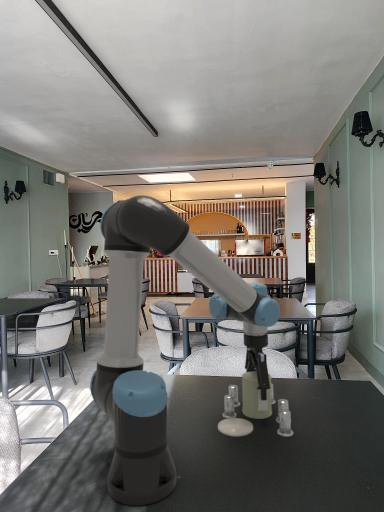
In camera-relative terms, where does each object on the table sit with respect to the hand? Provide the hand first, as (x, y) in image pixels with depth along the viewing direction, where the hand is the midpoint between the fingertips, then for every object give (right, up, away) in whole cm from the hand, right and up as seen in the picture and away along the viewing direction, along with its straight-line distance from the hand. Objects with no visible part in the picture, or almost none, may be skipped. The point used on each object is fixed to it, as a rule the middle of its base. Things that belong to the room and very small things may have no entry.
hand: (256, 401), depth 118 cm
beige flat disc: (-8, -4, -10) cm, 13 cm away
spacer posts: (-1, -4, -4) cm, 5 cm away
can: (0, -4, 0) cm, 4 cm away
